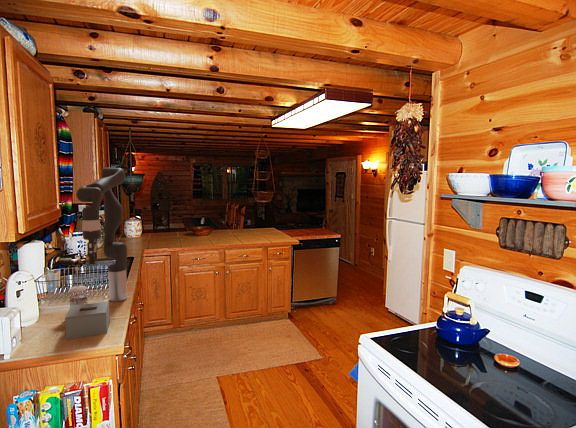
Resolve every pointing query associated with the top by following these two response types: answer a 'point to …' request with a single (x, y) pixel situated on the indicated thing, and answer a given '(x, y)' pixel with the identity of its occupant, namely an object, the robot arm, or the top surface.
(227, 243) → the top surface
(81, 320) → the box
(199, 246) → the top surface
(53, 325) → the top surface
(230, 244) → the top surface
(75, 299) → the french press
